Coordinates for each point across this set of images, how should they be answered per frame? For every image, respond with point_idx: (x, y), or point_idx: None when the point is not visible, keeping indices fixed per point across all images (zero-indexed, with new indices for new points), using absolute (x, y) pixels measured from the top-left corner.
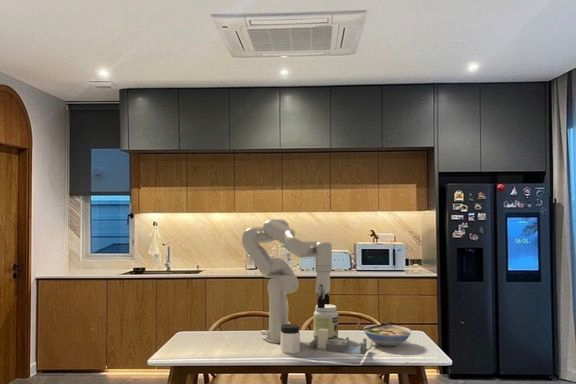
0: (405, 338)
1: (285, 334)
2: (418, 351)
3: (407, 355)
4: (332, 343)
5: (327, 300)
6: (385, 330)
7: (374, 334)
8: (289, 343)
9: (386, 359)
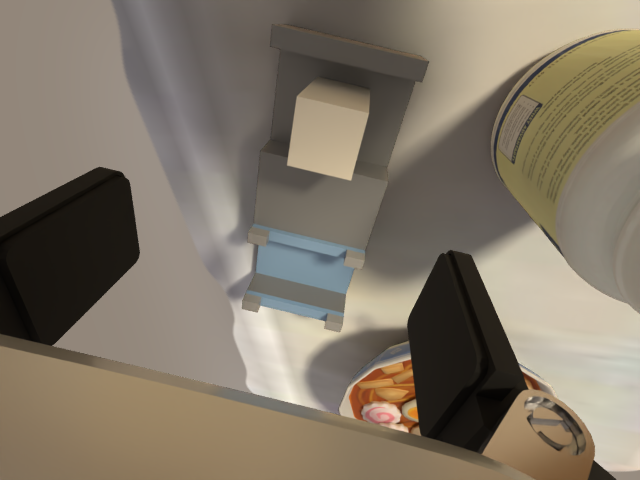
0: None
1: None
2: None
3: (302, 382)
4: (277, 176)
5: (420, 356)
6: None
7: (366, 371)
8: None
9: (241, 330)
